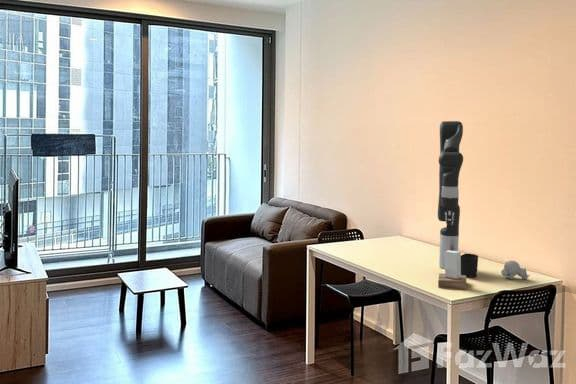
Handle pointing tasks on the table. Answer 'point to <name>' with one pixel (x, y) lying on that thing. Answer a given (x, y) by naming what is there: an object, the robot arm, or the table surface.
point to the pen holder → (469, 265)
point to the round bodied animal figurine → (514, 270)
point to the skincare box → (453, 264)
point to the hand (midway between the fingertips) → (448, 230)
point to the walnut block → (452, 282)
